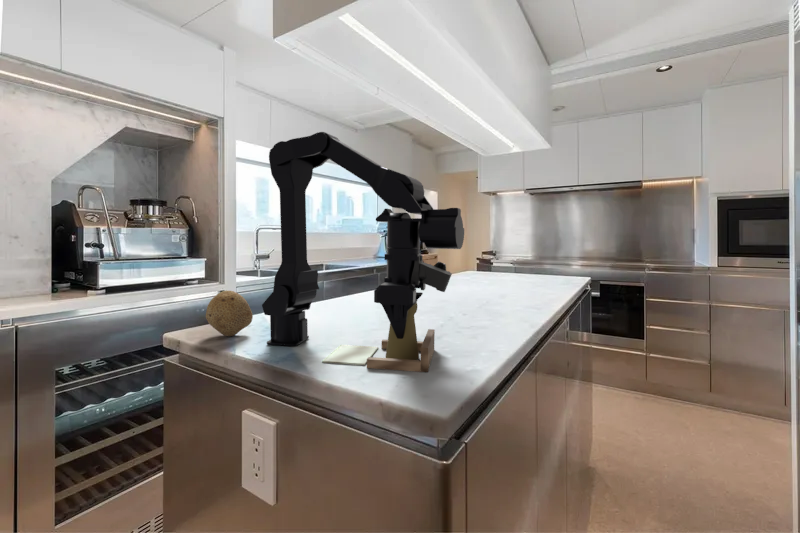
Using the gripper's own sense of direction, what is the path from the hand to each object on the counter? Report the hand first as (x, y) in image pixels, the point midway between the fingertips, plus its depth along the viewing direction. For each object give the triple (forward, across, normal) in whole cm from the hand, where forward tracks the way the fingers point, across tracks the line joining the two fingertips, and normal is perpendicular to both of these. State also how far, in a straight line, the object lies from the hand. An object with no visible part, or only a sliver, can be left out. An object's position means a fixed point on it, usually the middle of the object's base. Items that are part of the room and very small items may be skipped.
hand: (402, 335), depth 68 cm
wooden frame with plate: (+4, 0, +3) cm, 5 cm away
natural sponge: (+5, +8, +40) cm, 41 cm away
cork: (+4, 0, 0) cm, 4 cm away
